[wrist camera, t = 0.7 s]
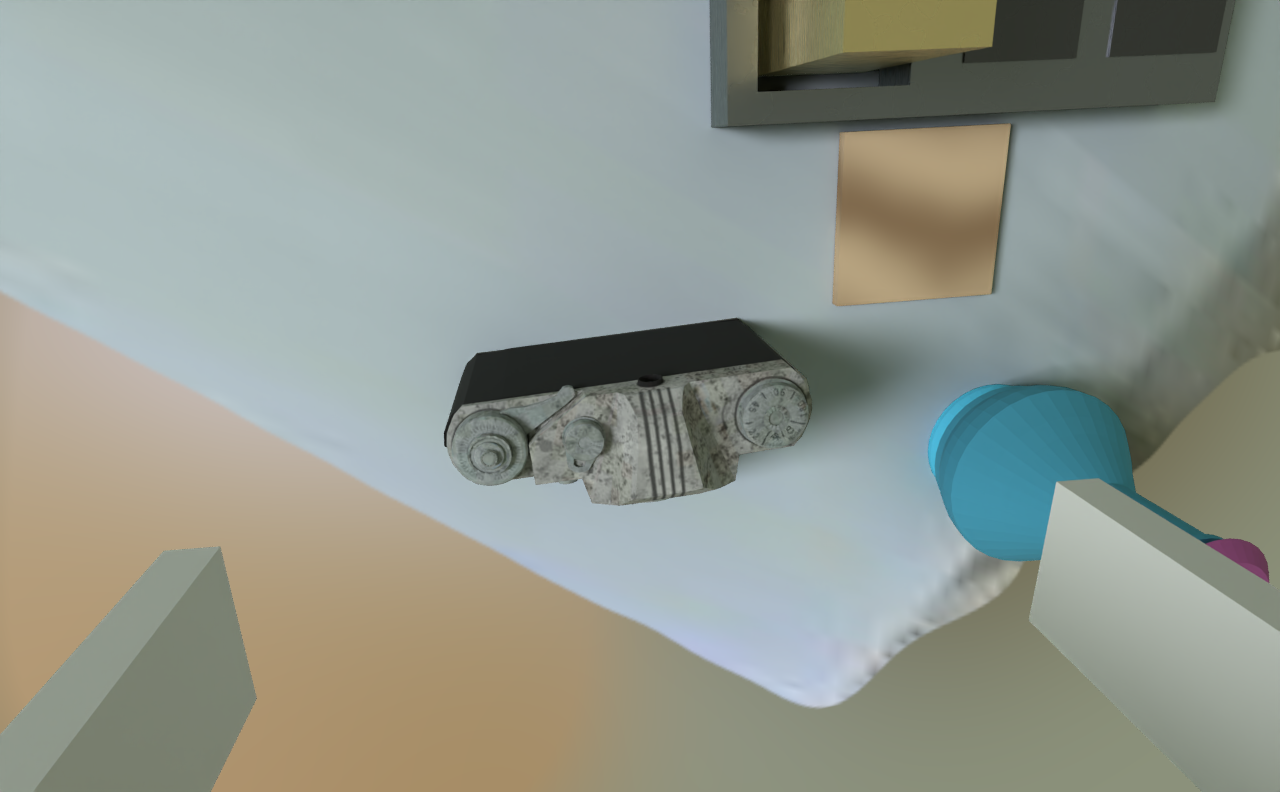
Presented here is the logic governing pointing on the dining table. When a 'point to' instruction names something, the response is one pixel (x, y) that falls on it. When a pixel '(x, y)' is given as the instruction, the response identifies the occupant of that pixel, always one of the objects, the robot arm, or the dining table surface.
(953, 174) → the cork mat
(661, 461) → the camera
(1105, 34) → the grey slotted tray
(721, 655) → the dining table surface
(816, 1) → the block
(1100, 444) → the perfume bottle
